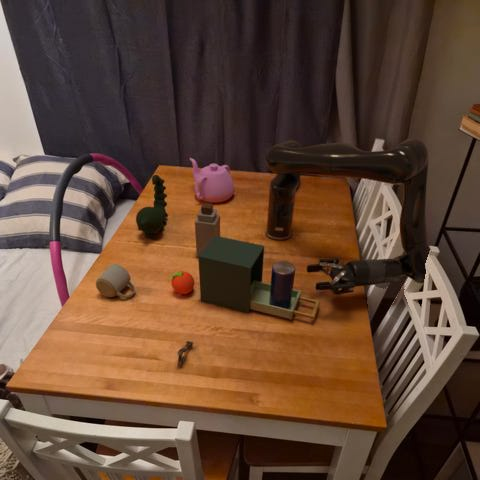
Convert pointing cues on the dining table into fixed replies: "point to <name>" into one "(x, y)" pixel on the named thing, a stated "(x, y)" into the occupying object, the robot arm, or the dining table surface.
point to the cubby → (229, 272)
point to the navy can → (282, 284)
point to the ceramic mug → (114, 281)
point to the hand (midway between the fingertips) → (311, 277)
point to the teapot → (212, 182)
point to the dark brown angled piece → (188, 345)
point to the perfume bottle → (206, 226)
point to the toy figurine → (153, 211)
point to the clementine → (182, 282)
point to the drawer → (261, 303)
